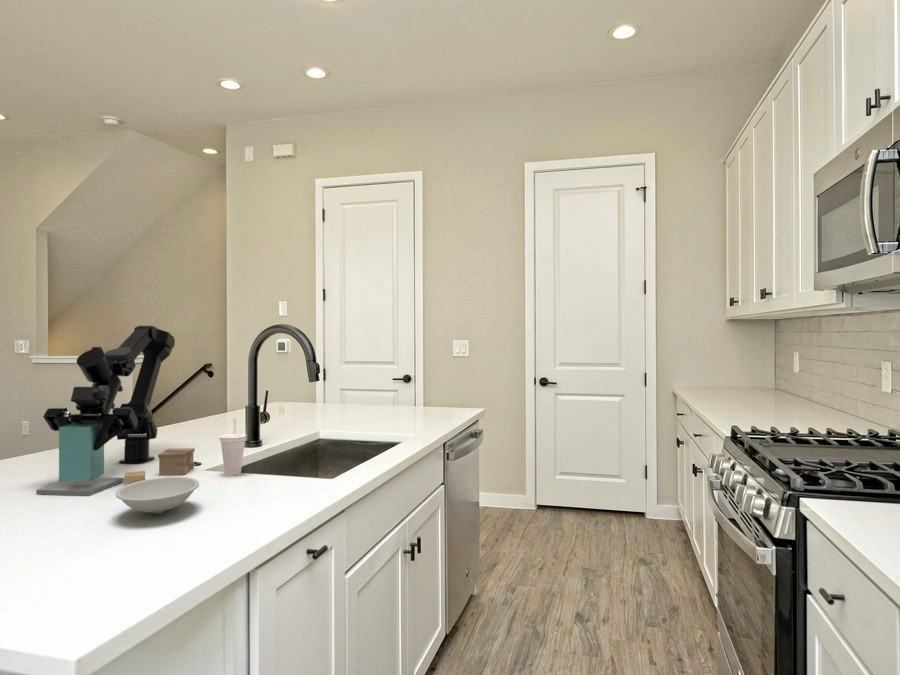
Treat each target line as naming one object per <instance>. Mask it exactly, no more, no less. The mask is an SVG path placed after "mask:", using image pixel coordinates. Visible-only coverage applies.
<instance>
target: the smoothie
mask: <svg viewBox="0 0 900 675" xmlns="http://www.w3.org/2000/svg"><path fill="white" fill-rule="evenodd" d="M246 440H247V434H246V433H237V418H236V417H234V418H233V433H225V434H221V435H219V442H220V445H221V453H222V461H223V469H224V475H225V474H226V475H236V476H240V475H241V474H242V473H241V472H242V466H243V460H244V459H243V458H244V452H245V442H246ZM226 475H225V476H226Z"/></svg>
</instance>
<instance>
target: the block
mask: <svg viewBox="0 0 900 675" xmlns="http://www.w3.org/2000/svg"><path fill="white" fill-rule="evenodd" d="M123 478H124V482H123V487H124V486H126V485H129V484H132V483H135V482H139V481H143V480H146V470H136V471H126V472H124V476H123Z"/></svg>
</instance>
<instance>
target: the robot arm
mask: <svg viewBox="0 0 900 675" xmlns="http://www.w3.org/2000/svg"><path fill="white" fill-rule="evenodd" d="M175 341H176V340H175V337H174V335H172V334H171V333H170V332H169V331H165V330H163V329H159V328H158V327H156V326H154V325H138V326H135V328H134V329H133V332H132V333H131V334H130V335H129V336H127V338H126V339H125V340H124V341H123V342H122V343H121V344H120V345H119V346H118V347H117V348H113V349H109V350H107V351H105V352H104V349H103V347H102V346H92V347H91V349H90V350H86V351H85V352H83V353H82V354H80V355H78V357H77V359H76V364H77V366H78V367H79V369H80V371H81V372H82V374H83V375H84V377H85V380H86V381H87V382H89V383H92V384H91V386H74V387H73V389H72V393H71V398H70V402H72V403H74V404H76V405H75V408H76V411H80V412H79V413H78V412H77V413H73V412H72V413H71V412H69V410H68V409H67V407H49V408H47V409H46V410H45V412H44V414H43V416H42V417H43V419H44V421H45V422H46V424H47V425H48V427H49V428H50V430H51V431H54V432H59V427H61V426H65V425H68V424H71V423H82V422H103V426H102V428H101V431H100V433H99V435H98V437H97V440H96V442H95V446H94V449H95V451H97V450H98V449H99V448H101V447H102V446H103V445H104V446H105V445H106V444H107V443H108V442H109V441H111V440H112V439H113V438H115V437H116V438H117V440H118V441H119V440H124V447H123V448H124V452H123V453H124V454H123V455H124V458H123V459H121V460H119V461H118V463H120V464H121V463H122V464H144V463H146V462H149V461H151V460H154V459H155V456H150V440H153V439H156V438H157V435H158V428H157V426H156V424H155V421H154V420H153V417H154V415H153V413H152V410H151V408H150V404H151V400H152V397H153V395H154V394H153V393H154V390H155V388H156V387H155V386H156V383H157V380H158V377H159V376H158V375H159V373H160V370H161V369H160V368H161V365H162V363H163V362H164V361H165V360H166V359H167V358H168V357H170V355H171V353H172V351H173V349H174V347H175V345H176V344H175V343H176V342H175ZM141 353H142V355H143V358H142V362H141V365H140V369H139V371H138V375H137V378H136V382H135V385H134V389H133V391H132V395H131V397H130V401H128V402H127V403H122V404H120V406H119V407H115V406H116V405H115V399H116V397H117V394H118V392H119V393H121V392H123V390H124V389H123V386H122V380H121V379H120V377H129V376H131V374H132V373H133V371H134V369H135V368H136V362H135V360H136V359H137V358H138V357H139V355H140V354H141ZM111 410H112V411H111ZM110 412H112V413H110Z"/></svg>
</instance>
